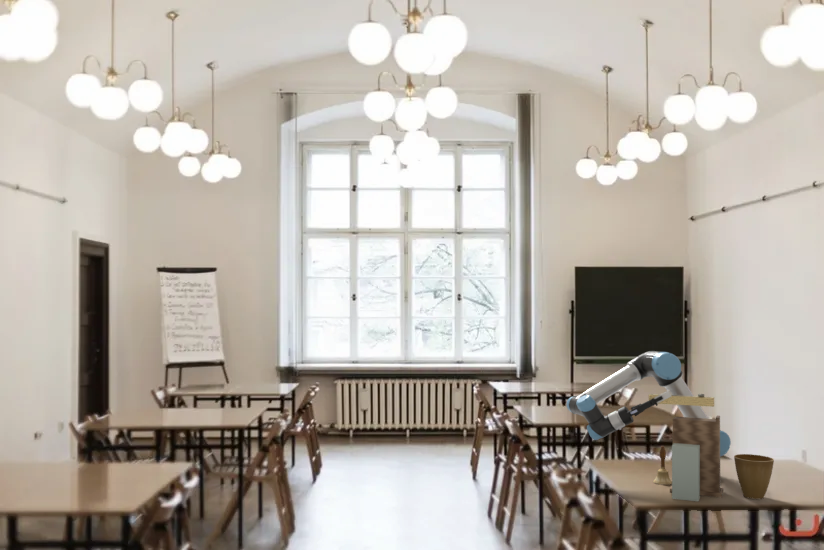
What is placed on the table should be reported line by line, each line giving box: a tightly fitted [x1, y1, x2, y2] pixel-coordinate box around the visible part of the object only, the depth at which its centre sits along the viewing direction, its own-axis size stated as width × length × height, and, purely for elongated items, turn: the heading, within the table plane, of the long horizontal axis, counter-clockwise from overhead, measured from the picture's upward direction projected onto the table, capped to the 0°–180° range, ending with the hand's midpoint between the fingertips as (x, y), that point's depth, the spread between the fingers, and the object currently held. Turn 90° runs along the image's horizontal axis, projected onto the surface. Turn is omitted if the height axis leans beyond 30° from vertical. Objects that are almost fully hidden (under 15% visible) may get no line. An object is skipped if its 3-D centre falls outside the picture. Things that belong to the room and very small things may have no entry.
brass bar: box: [648, 393, 715, 408], centre depth 334 cm, size 26×4×5 cm, turn 66°
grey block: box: [671, 443, 701, 502], centre depth 319 cm, size 10×7×21 cm
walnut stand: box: [669, 415, 724, 498], centre depth 331 cm, size 20×12×32 cm, turn 66°
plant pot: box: [733, 453, 775, 500], centre depth 322 cm, size 15×15×16 cm
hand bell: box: [652, 445, 672, 486], centre depth 347 cm, size 8×8×16 cm
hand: (670, 393), depth 336 cm, fingers closed on brass bar, 3 cm apart
